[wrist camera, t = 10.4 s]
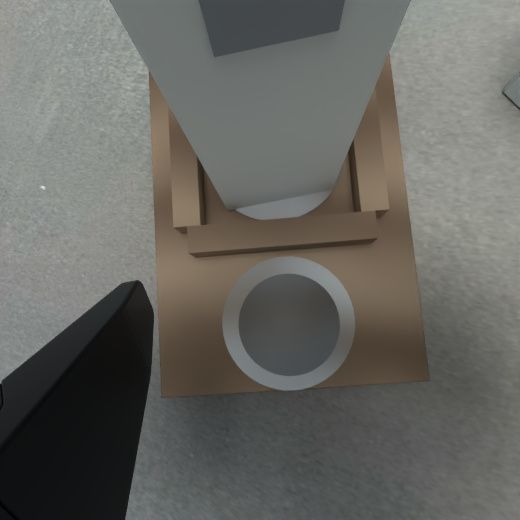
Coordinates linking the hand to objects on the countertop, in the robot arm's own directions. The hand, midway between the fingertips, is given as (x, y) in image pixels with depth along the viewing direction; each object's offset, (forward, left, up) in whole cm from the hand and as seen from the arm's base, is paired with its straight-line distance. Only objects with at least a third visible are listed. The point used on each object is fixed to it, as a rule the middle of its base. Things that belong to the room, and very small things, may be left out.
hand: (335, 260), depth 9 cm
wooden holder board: (+3, +1, -10) cm, 11 cm away
